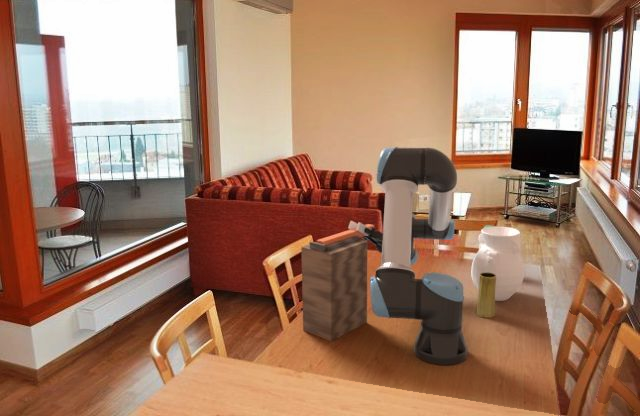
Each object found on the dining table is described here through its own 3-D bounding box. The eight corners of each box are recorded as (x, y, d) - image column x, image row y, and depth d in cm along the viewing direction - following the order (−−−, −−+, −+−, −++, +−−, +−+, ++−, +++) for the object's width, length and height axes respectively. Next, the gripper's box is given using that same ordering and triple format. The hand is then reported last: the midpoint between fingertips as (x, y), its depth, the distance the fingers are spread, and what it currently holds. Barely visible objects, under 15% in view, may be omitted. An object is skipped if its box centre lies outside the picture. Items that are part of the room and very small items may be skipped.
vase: (498, 314, 192) (500, 274, 189) (489, 319, 188) (492, 279, 185) (481, 309, 196) (483, 270, 193) (473, 314, 192) (475, 275, 189)
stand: (339, 313, 195) (338, 229, 188) (366, 322, 187) (367, 235, 180) (303, 330, 182) (301, 240, 175) (331, 341, 174) (330, 247, 167)
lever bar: (368, 231, 193) (368, 223, 192) (374, 232, 191) (374, 225, 190) (316, 248, 174) (316, 240, 173) (323, 249, 172) (323, 241, 172)
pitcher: (533, 298, 206) (538, 231, 200) (500, 309, 196) (504, 240, 190) (492, 283, 221) (495, 221, 215) (459, 293, 211) (462, 229, 205)
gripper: (405, 260, 196) (369, 240, 178) (369, 251, 206) (332, 232, 189) (411, 240, 197) (377, 218, 180) (375, 232, 207) (339, 211, 190)
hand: (354, 225), depth 184 cm, fingers closed on lever bar, 3 cm apart
